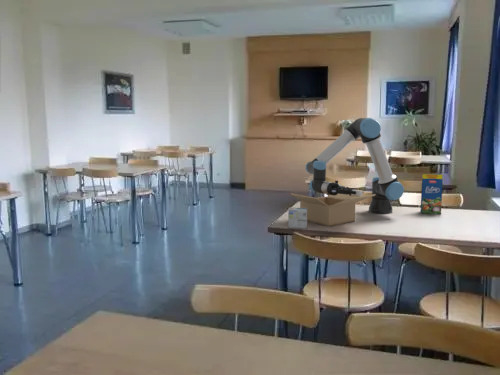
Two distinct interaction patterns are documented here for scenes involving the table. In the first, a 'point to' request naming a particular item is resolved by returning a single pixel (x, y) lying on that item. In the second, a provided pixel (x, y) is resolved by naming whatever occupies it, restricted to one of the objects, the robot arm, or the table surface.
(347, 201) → the carton flap
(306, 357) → the table surface
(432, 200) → the blue food package
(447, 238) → the table surface
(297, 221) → the light bulb box
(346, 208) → the carton
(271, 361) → the table surface
